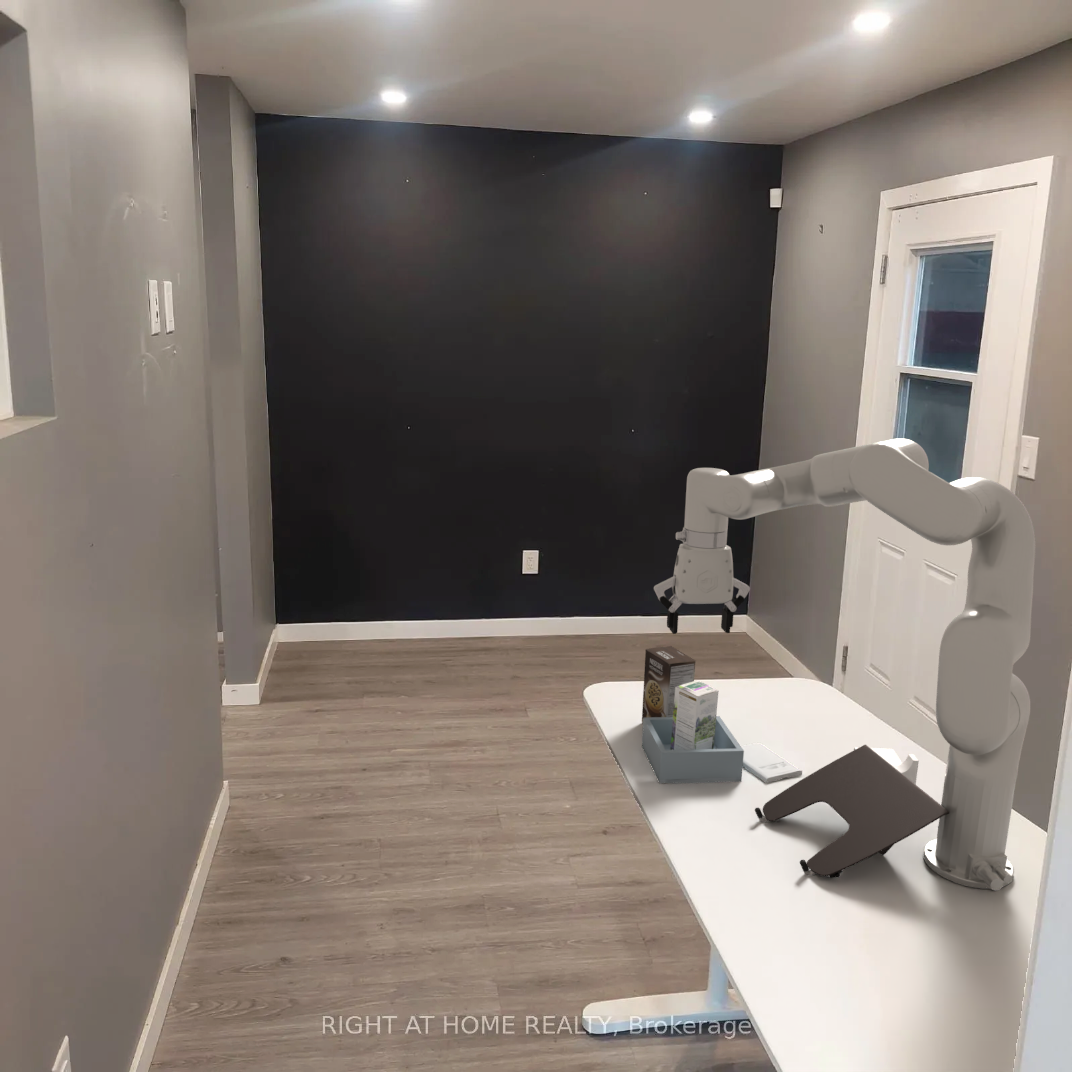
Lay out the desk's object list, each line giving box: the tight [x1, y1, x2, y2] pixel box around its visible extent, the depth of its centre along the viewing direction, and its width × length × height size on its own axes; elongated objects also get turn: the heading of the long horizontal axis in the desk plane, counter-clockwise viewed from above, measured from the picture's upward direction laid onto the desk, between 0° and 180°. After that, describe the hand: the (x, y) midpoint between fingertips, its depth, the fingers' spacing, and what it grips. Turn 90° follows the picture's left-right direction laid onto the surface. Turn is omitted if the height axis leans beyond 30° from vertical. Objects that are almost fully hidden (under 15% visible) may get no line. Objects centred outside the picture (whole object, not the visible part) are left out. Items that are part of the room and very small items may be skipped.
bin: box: [641, 715, 744, 784], centre depth 176 cm, size 15×15×6 cm
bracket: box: [853, 746, 920, 785], centre depth 171 cm, size 13×7×8 cm, turn 177°
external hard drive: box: [740, 742, 803, 784], centre depth 177 cm, size 2×8×12 cm
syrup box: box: [670, 680, 719, 750], centre depth 174 cm, size 6×6×14 cm
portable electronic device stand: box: [754, 744, 950, 879], centre depth 151 cm, size 23×23×9 cm
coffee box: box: [641, 645, 697, 724], centre depth 189 cm, size 9×6×16 cm
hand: (699, 631), depth 170 cm, fingers open, 9 cm apart
